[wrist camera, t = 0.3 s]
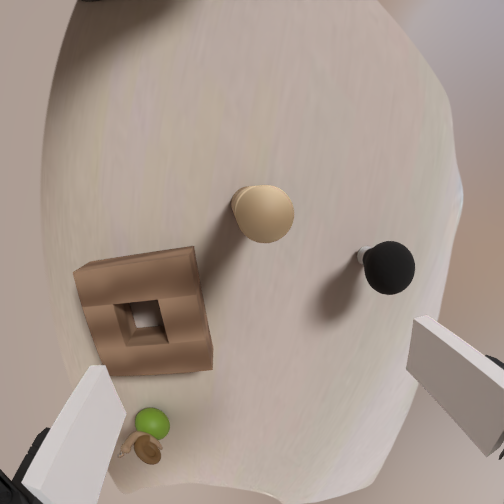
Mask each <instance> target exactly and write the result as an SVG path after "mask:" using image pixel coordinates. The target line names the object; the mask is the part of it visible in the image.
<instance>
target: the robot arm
mask: <svg viewBox="0 0 504 504" xmlns="http://www.w3.org/2000/svg"><path fill="white" fill-rule="evenodd" d="M82 1H98V0H82ZM406 369H407V371H408V372H409V373H410V374H411V375H412V376H413V377H414V378H415V379H416V380H417V381H418V382H419V383H420V384H421V385H422V386H423V387H424V389H425V390H426V391H427V392H428V393H429V394H430V395H431V396H432V397H433V398H434V399H435V400H436V401H437V402H438V404H439V405H440V406H441V407H442V408H443V409H444V410H445V411H446V412H447V413H448V414H449V416H450V417H451V418H452V419H453V420H454V421H455V422H456V423H457V424H458V426H459V427H460V428H461V429H462V430H463V431H464V432H465V433H466V434H467V435H468V437H469V438H470V439H471V440H472V441H473V442H474V443H475V445H476V446H477V447H478V448H479V449H480V450H481V451H482V453H483V454H484V455H485V456H486V457H488V456H489V455H490V454H492V453H493V452H494V451H495V450H497V449H498V448H499V447H500V446H501V444H502V443H503V441H504V363H502V362H501V361H499V360H498V359H496V358H494V357H491V356H488V355H485V356H484V355H483V354H482V353H480V352H479V351H477V350H476V349H475V348H473V347H472V346H471V345H469V344H468V343H466V342H465V341H464V340H462V339H461V338H459V337H458V336H456V335H455V334H454V333H452V332H450V331H449V330H448V329H447V328H445V327H444V326H442V325H441V324H439V323H438V322H436V321H435V320H434V319H432V318H431V317H429V316H428V315H424V316H421V317H417V318H414V320H413V328H412V336H411V342H410V349H409V355H408V361H407V366H406ZM126 414H127V413H126V411H125V409H124V407H123V405H122V403H121V401H120V399H119V396H118V394H117V392H116V390H115V387H114V385H113V383H112V380H111V378H110V376H109V373H108V371H107V368H106V366H105V365H90V367H89V368H88V370H87V371H86V373H85V374H84V376H83V377H82V379H81V380H80V382H79V383H78V385H77V386H76V388H75V390H74V391H73V393H72V395H71V396H70V398H69V399H68V401H67V402H66V404H65V406H64V407H63V409H62V411H61V412H60V414H59V415H58V417H57V419H56V420H55V422H54V424H53V425H52V427H51V428H45V429H44V430H43V431H42V432H41V433H40V434H38V435H37V437H36V439H35V440H34V442H33V444H32V447H30V449H29V451H28V454H26V456H25V458H24V460H23V461H22V463H21V465H20V467H19V469H18V470H17V472H16V474H15V476H14V478H13V480H12V481H11V480H10V479H9V478H8V477H7V476H6V475H5V474H4V473H3V472H2V470H1V469H0V504H97V502H98V498H99V495H100V491H101V488H102V485H103V482H104V478H105V475H106V472H107V469H108V466H109V463H110V460H111V457H112V454H113V451H114V448H115V445H116V442H117V439H118V436H119V433H120V431H121V428H122V425H123V422H124V419H125V417H126ZM503 456H504V450H503V451H502V452H501V454H500V456H499V460H500V459H502V457H503Z"/></svg>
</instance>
